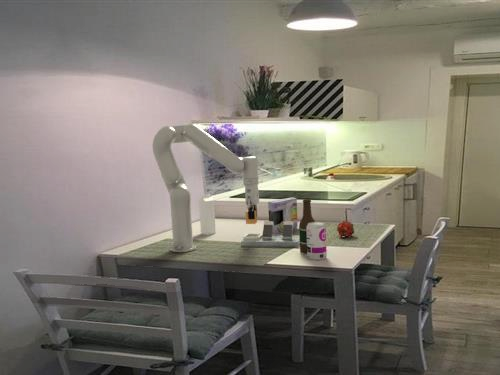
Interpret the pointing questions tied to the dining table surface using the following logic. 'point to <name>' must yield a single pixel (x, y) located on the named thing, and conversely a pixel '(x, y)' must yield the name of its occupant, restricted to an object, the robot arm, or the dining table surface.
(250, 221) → the orange rectangular block
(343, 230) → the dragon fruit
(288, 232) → the block
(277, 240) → the breaker panel
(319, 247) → the supplement can
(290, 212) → the cake pan box
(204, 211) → the milk
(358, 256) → the dining table surface
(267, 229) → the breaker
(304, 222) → the beer bottle
